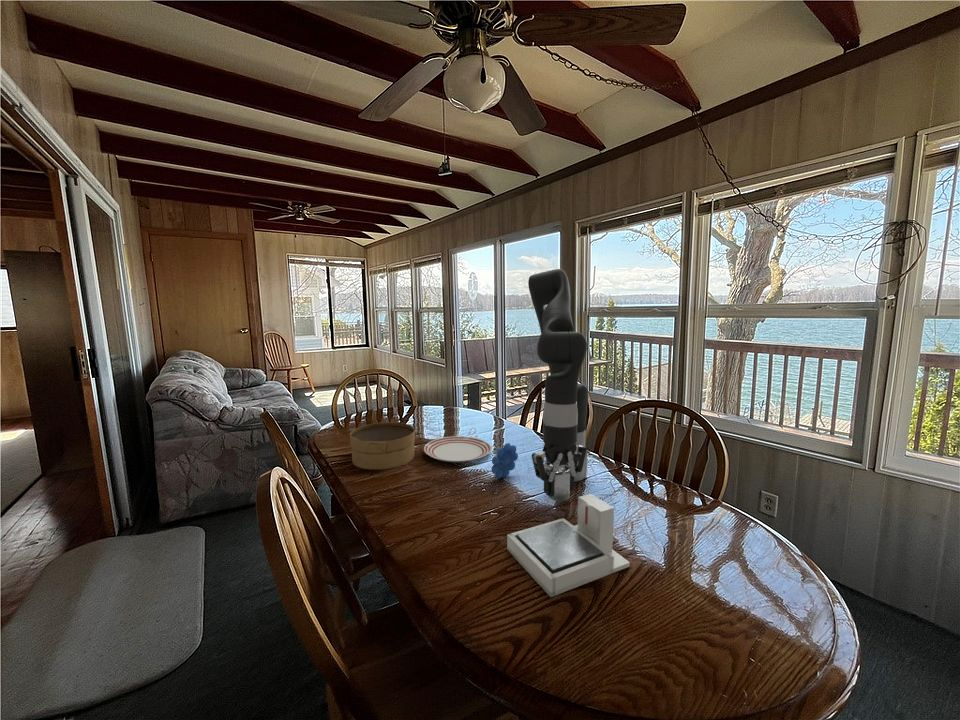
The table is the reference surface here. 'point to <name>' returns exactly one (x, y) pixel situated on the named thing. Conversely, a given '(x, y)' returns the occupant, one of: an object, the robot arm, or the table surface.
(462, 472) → the table surface
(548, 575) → the scale
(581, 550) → the scale pan
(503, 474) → the grapes
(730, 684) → the table surface
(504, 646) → the table surface
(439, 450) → the dinner plate
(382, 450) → the steamer basket
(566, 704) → the table surface
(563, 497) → the cylinder
